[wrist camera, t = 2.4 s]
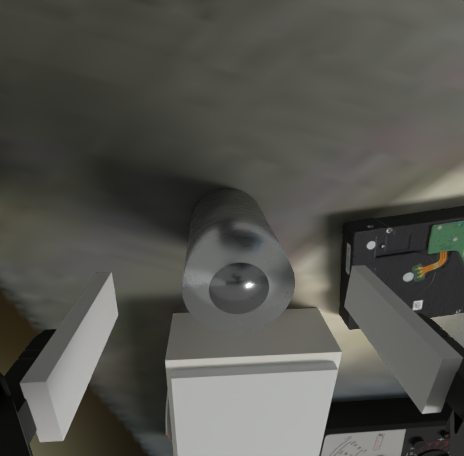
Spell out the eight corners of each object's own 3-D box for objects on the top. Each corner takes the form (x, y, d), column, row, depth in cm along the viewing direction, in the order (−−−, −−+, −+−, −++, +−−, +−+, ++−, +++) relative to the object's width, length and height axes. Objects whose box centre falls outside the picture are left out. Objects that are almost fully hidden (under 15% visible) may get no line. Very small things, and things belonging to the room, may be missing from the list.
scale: (164, 313, 27) (153, 369, 21) (317, 308, 28) (346, 359, 22) (175, 437, 34) (168, 505, 28) (297, 428, 35) (315, 492, 29)
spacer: (189, 188, 22) (179, 238, 14) (265, 188, 23) (301, 237, 14) (192, 256, 25) (184, 336, 16) (260, 254, 25) (289, 331, 16)
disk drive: (336, 313, 29) (477, 291, 30) (348, 332, 27) (503, 309, 27) (338, 220, 25) (501, 195, 25) (352, 232, 23) (534, 205, 23)
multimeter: (430, 456, 40) (459, 500, 36) (297, 466, 39) (310, 515, 34) (461, 390, 35) (499, 433, 31) (310, 400, 34) (326, 446, 29)
